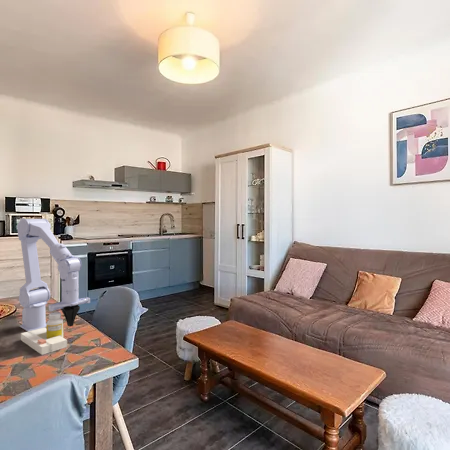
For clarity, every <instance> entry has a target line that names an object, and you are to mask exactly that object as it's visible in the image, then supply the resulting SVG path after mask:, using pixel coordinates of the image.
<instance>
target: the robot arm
mask: <svg viewBox="0 0 450 450" xmlns="http://www.w3.org/2000/svg"><path fill="white" fill-rule="evenodd" d="M16 228H17V229H16V230H17V237H18V240H19V241H20V246H21V254H22V260H23V267H24V268H23V269H24V275H25V283H24V284H23V285H22V286H21V287H20V288H19V294H18V295H19V296H18V302H19V303H20V304H19V305H21V307H23V308H22V311H21V312H22V315H21V316H22V323H21V324H20V325H19V327H20V328H22V329H23V330H25V332H28V331H32V330H36V329H40V328H44V327H45V328H46V323H47V321H46V319H47V318H46V317H47V316H46V310H47V309H46V305H48V311H49V312H54V311H56V310H57V311H58V310H61V313H62V314H63V315H64V318H65V320H66V321H65V322H66V326H67V327H69V328H70V327H73V326H74V324H75V320H76V318H77V315H78V313H79V312H80V310H81V307H80V305H84V304H90V303H91V298H90V297H88V296H87V297H81V298H79V293H80V291H79V289H80V288H79V276H80V275H79V273H80V271H81V270H82V268H83V263H82V260H81V258H80V257H78V256H75V255H73V254H72V253H71V252H70V250H69V249H68V248H67V246H66V244H65V243H59V241H58V240H57V238H56V237H55V235H54V233H53V232H52V229H51V228H52V224H51V223H50V222H49V220H48V219H47V218H21V219H20V220H19V222H18V224H17V226H16ZM40 239H41V240H42V241H43V242H44V243H45V244H46V245H47V246H48V247H49V248H50V250H49V254H50V255H51V257H52V258H53V259H54V260H55V262H56V263H57V271H58V272H59V277H60V279H61V301H58V302H56V303H51V304H48V302H49V301H50V299H51V292H50V289H49V286H48V283H47V282H45V281H43V280H42V277H41V276H42V275H41V270H40V263H39V262H40V260H39V254H38V247H37V242H38V241H39V240H40Z"/></svg>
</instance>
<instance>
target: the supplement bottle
mask: <svg viewBox="0 0 450 450" xmlns="http://www.w3.org/2000/svg"><path fill="white" fill-rule="evenodd" d="M45 328H46V329H47V339H49V338H53V337H56V336H61V337H63V338H64V319H63V318H62V312H59V311H56V312H54V311H53V312H50V313H49V314H48V320H47V321H46V327H45Z"/></svg>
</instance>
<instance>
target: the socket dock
mask: <svg viewBox="0 0 450 450" xmlns="http://www.w3.org/2000/svg"><path fill="white" fill-rule="evenodd" d="M20 341H22V342H23V343H24V344H26V345H27V346H29V348H31V349H33V350H34V351H36V352H37V353H38V354H40V355H41V356H43V355H46V354H50V353H53V352H56V351H59V350H61V349H64V348H67V347H68V339H66V338H65V337H64V336H63V337H61V336H56V337H53V338H49V339H47V329H46V327H44V328H40V329H36V330H32V331H25V332H21V333H20Z"/></svg>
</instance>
